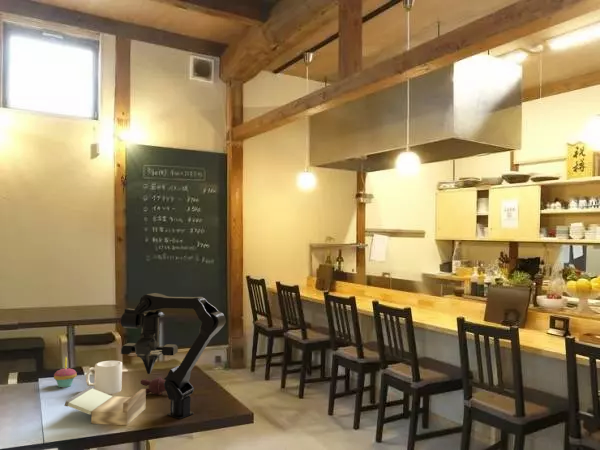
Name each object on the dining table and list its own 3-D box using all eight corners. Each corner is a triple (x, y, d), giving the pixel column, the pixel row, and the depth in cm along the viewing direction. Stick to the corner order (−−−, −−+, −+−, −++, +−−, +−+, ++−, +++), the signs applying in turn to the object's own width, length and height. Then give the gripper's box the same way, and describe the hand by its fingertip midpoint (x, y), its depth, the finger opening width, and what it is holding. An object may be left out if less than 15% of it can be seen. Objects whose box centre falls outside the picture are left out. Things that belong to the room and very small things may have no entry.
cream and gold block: (145, 408, 179) (145, 389, 180) (127, 425, 163) (127, 403, 164) (112, 407, 180) (113, 387, 180) (91, 423, 164) (91, 401, 164)
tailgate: (113, 395, 180) (89, 386, 181) (91, 410, 164) (65, 400, 165) (111, 399, 180) (88, 390, 181) (89, 415, 164) (64, 405, 165)
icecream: (180, 375, 201) (143, 377, 201) (175, 375, 194) (137, 378, 194) (180, 393, 199) (143, 396, 199) (175, 394, 192) (136, 397, 192)
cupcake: (53, 384, 207) (54, 355, 208) (76, 382, 211) (77, 353, 211) (53, 390, 200) (54, 359, 200) (76, 387, 203) (77, 357, 204)
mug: (81, 394, 194) (82, 367, 195) (90, 387, 204) (90, 360, 205) (117, 394, 196) (118, 366, 196) (124, 386, 206) (125, 360, 206)
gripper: (114, 332, 171) (113, 379, 170) (168, 334, 169) (167, 380, 169) (127, 327, 182) (126, 370, 181) (178, 328, 181) (177, 372, 180)
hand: (149, 373), depth 178 cm, fingers closed
